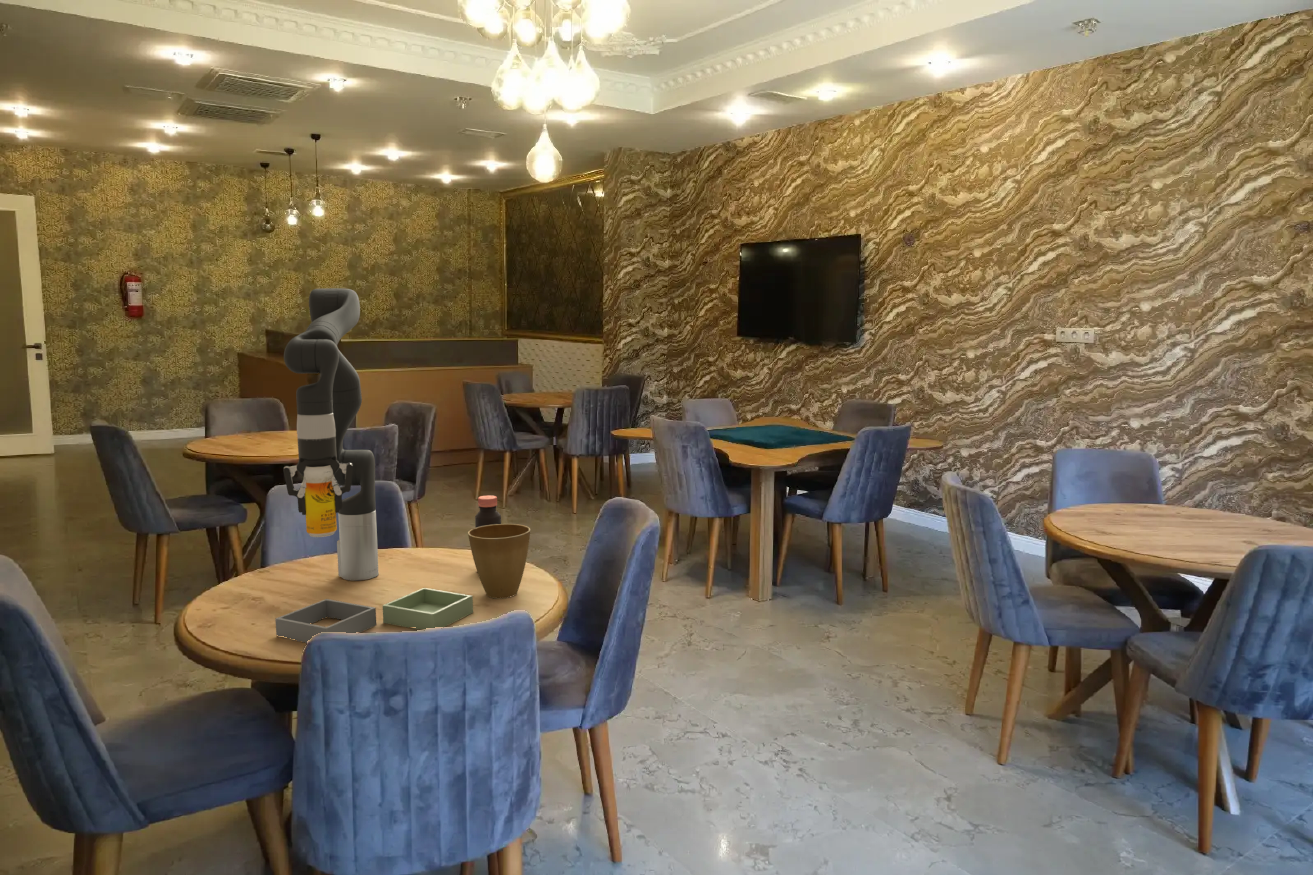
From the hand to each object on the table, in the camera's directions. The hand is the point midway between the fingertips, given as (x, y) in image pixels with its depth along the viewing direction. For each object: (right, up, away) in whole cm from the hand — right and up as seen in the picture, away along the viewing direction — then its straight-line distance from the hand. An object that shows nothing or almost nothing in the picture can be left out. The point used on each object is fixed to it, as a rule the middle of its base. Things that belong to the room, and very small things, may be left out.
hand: (320, 512), depth 189 cm
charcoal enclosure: (0, -26, +4) cm, 26 cm away
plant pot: (+33, -23, +29) cm, 49 cm away
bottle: (+27, -20, +48) cm, 59 cm away
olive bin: (+20, -25, +12) cm, 34 cm away
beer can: (0, -5, +1) cm, 5 cm away
